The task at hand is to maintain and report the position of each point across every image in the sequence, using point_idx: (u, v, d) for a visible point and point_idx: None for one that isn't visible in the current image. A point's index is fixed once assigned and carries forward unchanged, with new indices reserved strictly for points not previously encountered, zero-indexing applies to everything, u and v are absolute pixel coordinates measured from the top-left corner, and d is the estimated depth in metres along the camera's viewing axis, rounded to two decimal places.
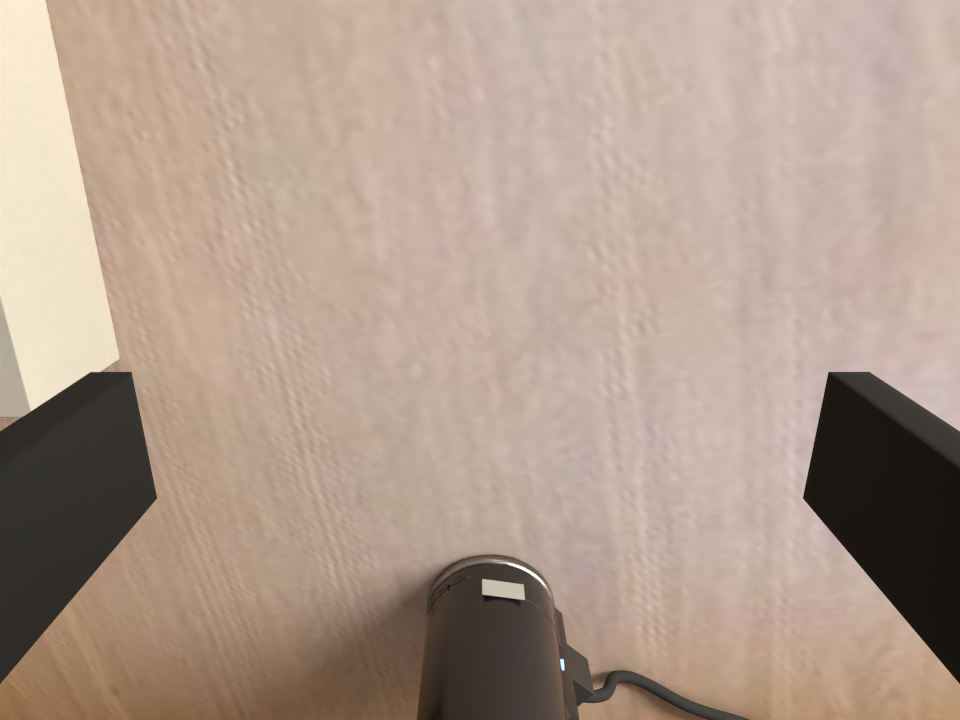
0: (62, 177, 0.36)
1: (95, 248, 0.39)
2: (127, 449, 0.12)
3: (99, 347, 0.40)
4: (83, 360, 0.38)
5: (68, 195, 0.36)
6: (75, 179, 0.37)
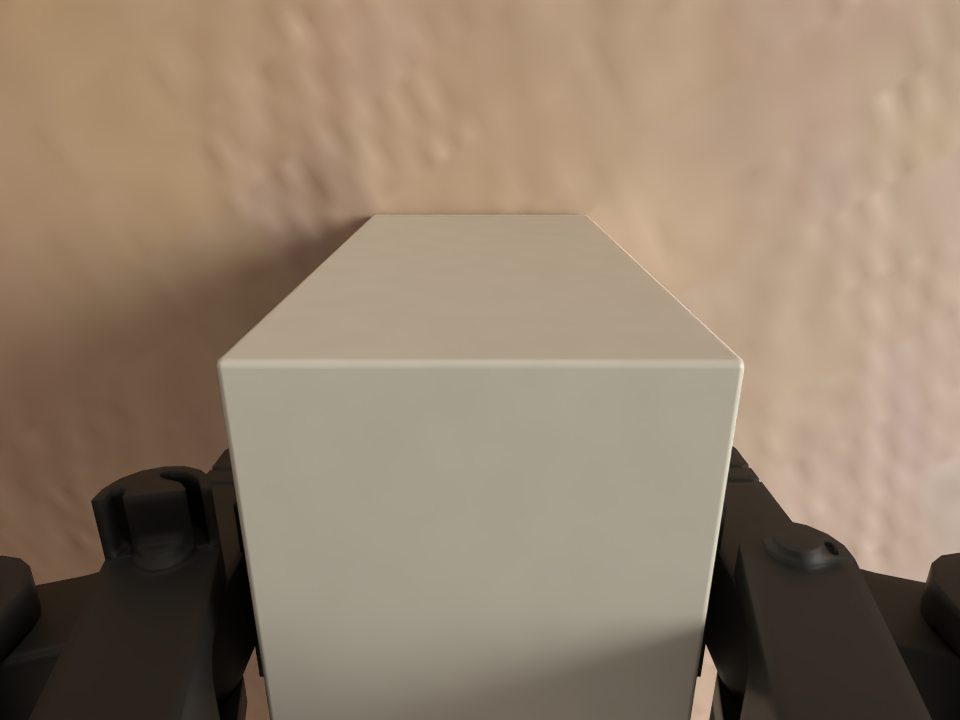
0: None
1: None
2: None
3: None
4: None
5: None
6: None
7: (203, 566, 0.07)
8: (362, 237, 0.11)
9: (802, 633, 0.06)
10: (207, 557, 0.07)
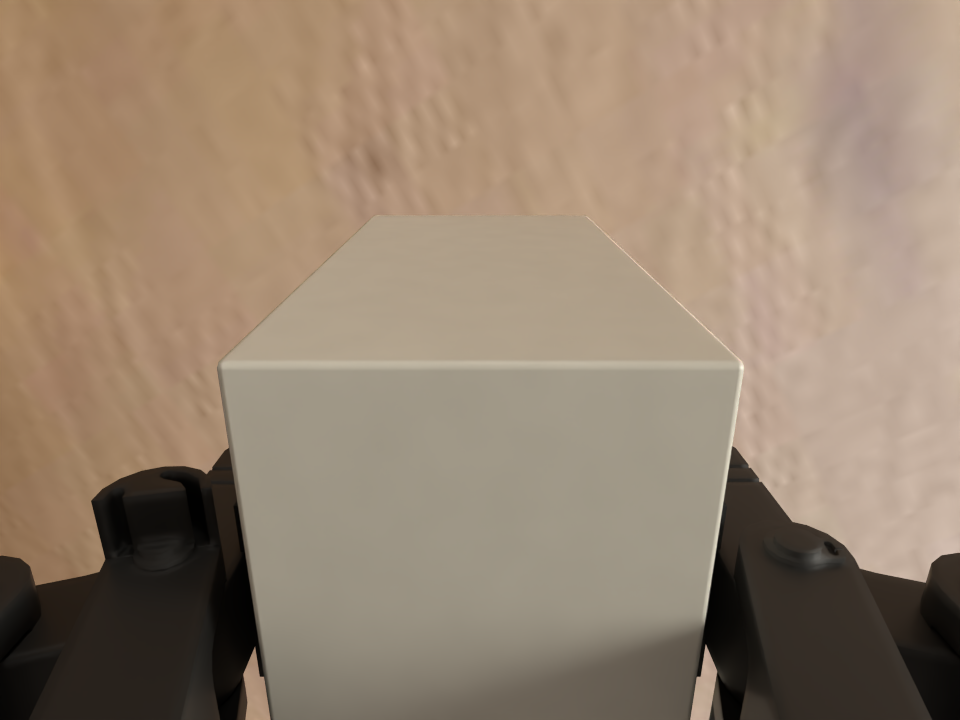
0: None
1: None
2: None
3: None
4: None
5: None
6: None
7: (203, 566, 0.07)
8: (362, 238, 0.11)
9: (802, 633, 0.06)
10: (207, 557, 0.07)
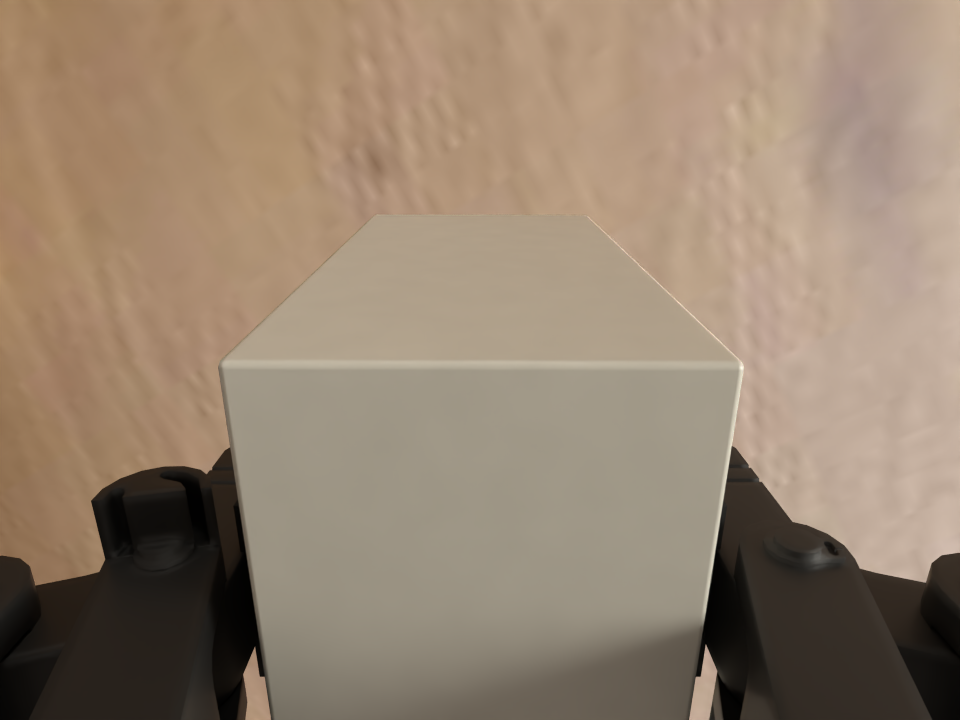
0: None
1: None
2: None
3: None
4: None
5: None
6: None
7: (203, 566, 0.07)
8: (363, 237, 0.11)
9: (802, 633, 0.06)
10: (207, 557, 0.07)
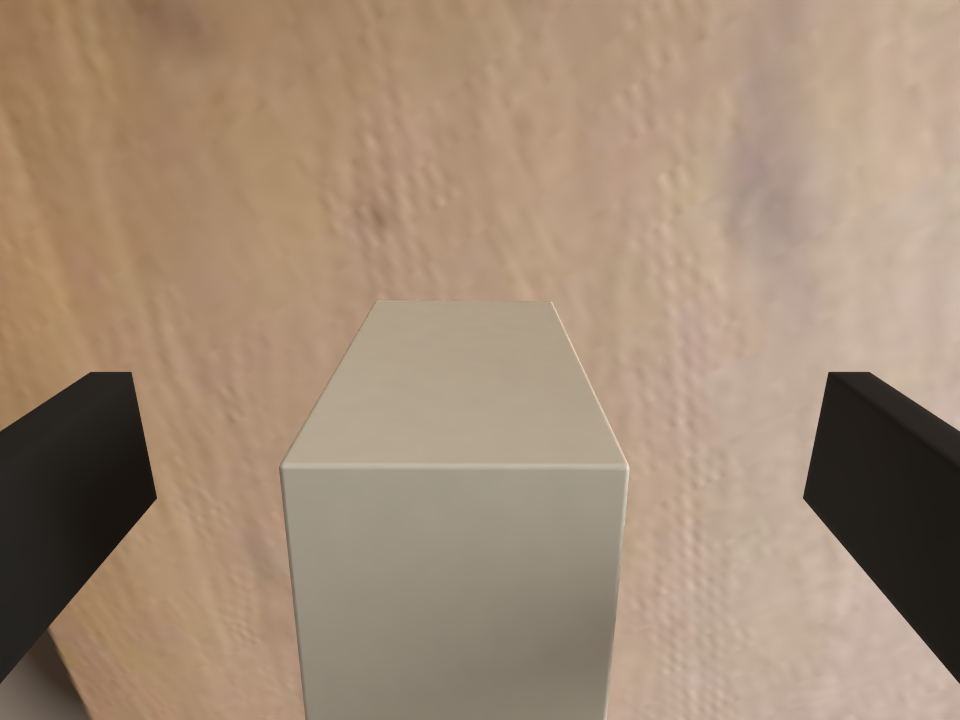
0: None
1: None
2: (127, 449, 0.12)
3: None
4: None
5: None
6: None
7: None
8: (368, 331, 0.14)
9: None
10: None
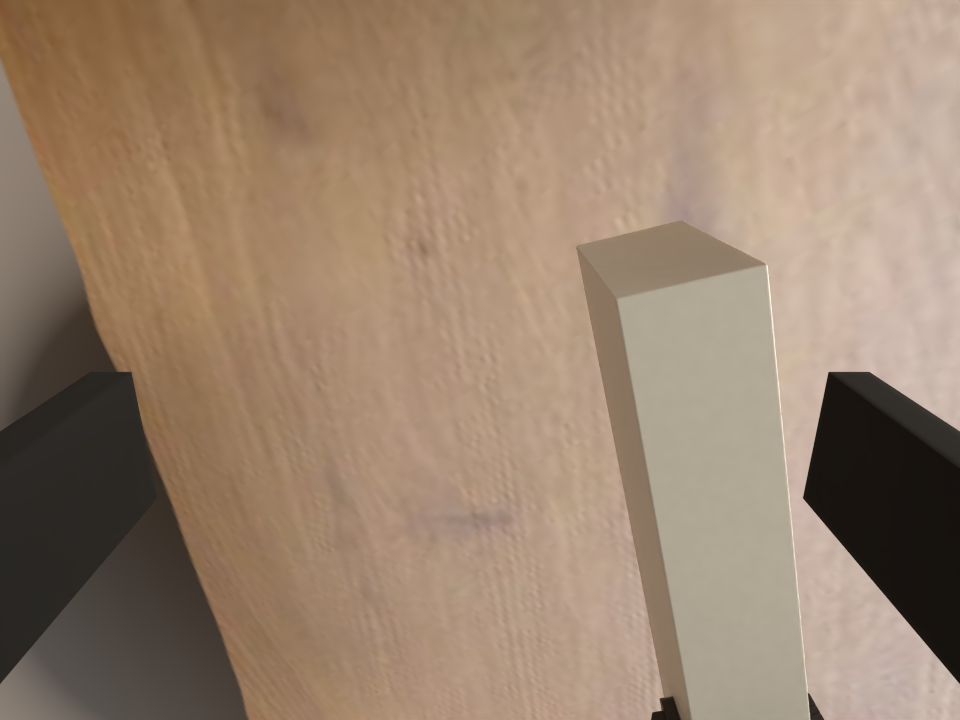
0: None
1: None
2: (127, 449, 0.12)
3: None
4: None
5: None
6: None
7: None
8: (592, 257, 0.25)
9: None
10: None
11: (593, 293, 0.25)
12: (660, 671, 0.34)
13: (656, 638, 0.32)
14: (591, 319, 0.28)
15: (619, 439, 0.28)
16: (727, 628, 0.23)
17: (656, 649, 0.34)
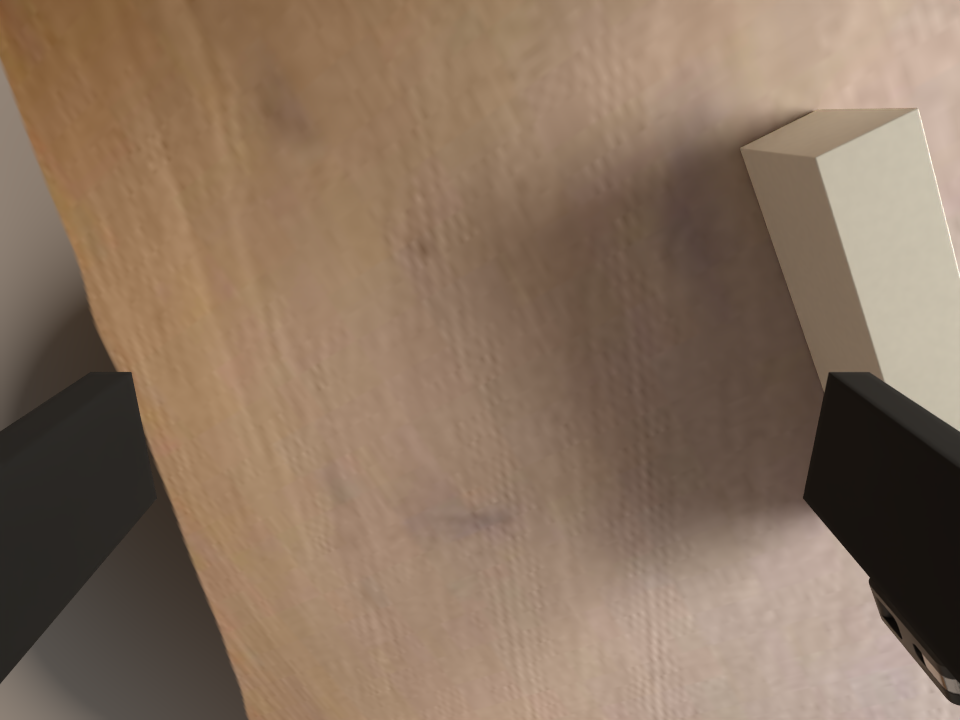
0: None
1: None
2: (127, 449, 0.12)
3: None
4: None
5: None
6: None
7: None
8: (764, 148, 0.33)
9: None
10: None
11: (770, 174, 0.33)
12: None
13: None
14: (760, 201, 0.37)
15: (802, 285, 0.36)
16: (928, 389, 0.32)
17: None
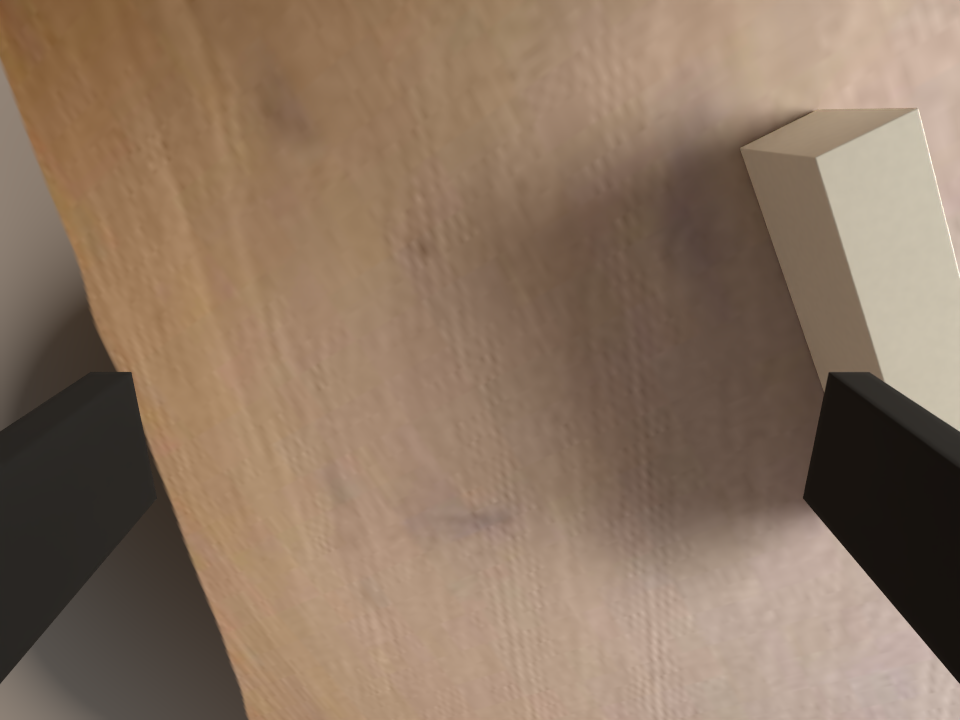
0: None
1: None
2: (127, 449, 0.12)
3: None
4: None
5: None
6: None
7: None
8: (764, 148, 0.33)
9: None
10: None
11: (770, 174, 0.33)
12: None
13: None
14: (760, 201, 0.37)
15: (802, 285, 0.36)
16: (928, 389, 0.32)
17: None
